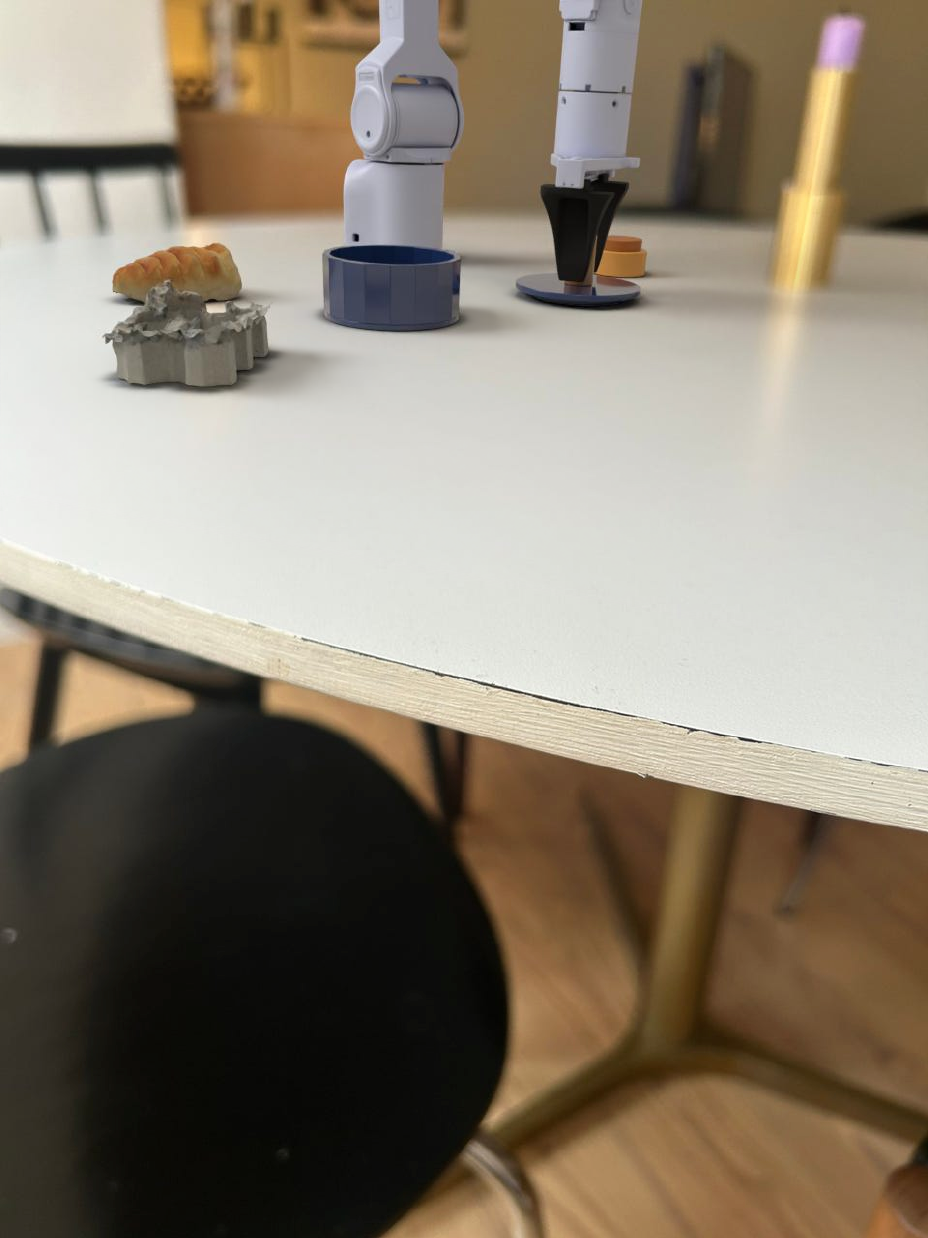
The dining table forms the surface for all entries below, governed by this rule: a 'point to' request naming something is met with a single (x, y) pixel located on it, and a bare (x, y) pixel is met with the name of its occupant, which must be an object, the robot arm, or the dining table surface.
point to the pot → (391, 286)
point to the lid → (579, 288)
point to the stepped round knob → (622, 257)
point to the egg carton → (187, 340)
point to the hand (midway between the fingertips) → (578, 275)
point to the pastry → (182, 273)
